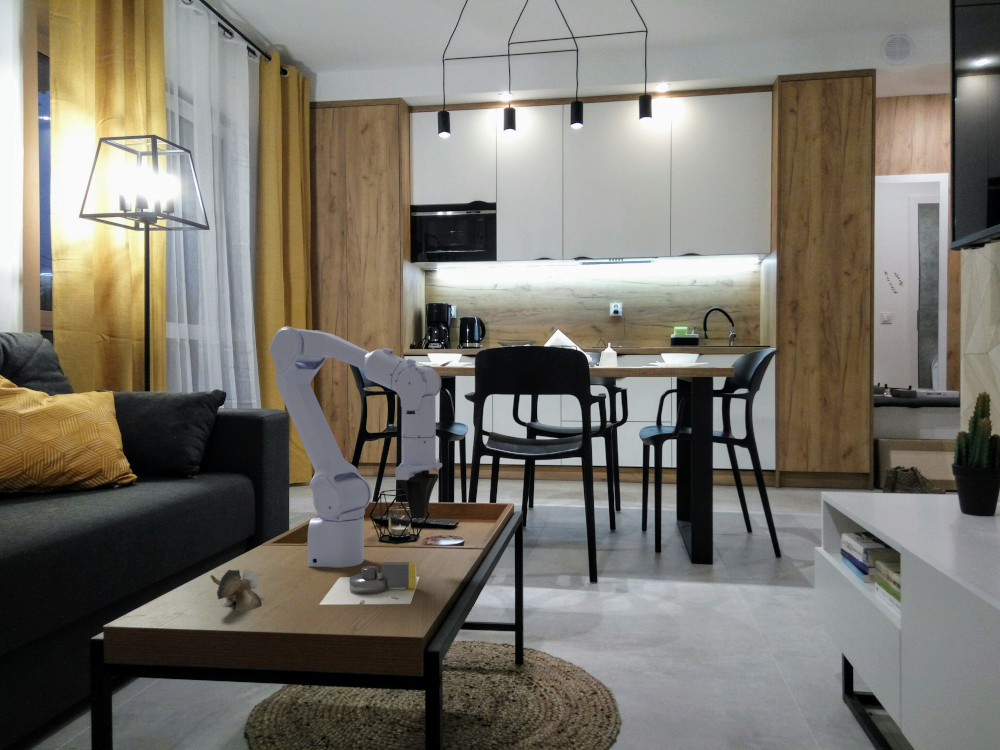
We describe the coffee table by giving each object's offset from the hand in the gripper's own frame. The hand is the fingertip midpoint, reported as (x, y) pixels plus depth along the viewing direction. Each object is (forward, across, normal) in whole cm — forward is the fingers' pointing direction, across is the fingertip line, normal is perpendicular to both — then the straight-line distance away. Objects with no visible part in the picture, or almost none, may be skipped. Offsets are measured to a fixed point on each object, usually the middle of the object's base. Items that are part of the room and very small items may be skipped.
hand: (418, 517), depth 117 cm
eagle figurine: (+10, -24, +18) cm, 32 cm away
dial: (+9, -12, +1) cm, 15 cm away
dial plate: (+10, -12, +2) cm, 16 cm away
